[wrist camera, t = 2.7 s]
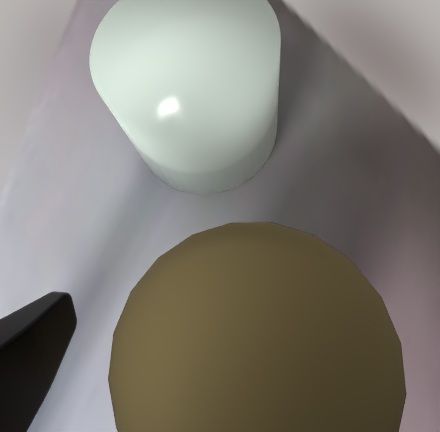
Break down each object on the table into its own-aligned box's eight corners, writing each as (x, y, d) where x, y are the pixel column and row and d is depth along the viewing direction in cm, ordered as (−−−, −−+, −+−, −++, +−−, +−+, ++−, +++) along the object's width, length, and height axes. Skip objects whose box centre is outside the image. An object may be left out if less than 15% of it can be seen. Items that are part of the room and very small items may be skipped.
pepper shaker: (290, 254, 17) (328, 117, 7) (364, 390, 15) (581, 496, 5) (166, 314, 17) (6, 269, 6) (225, 460, 15) (129, 735, 4)
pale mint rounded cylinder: (208, 223, 18) (181, 168, 12) (113, 137, 20) (52, 57, 14) (306, 122, 19) (322, 29, 13) (206, 51, 21) (184, -56, 15)
